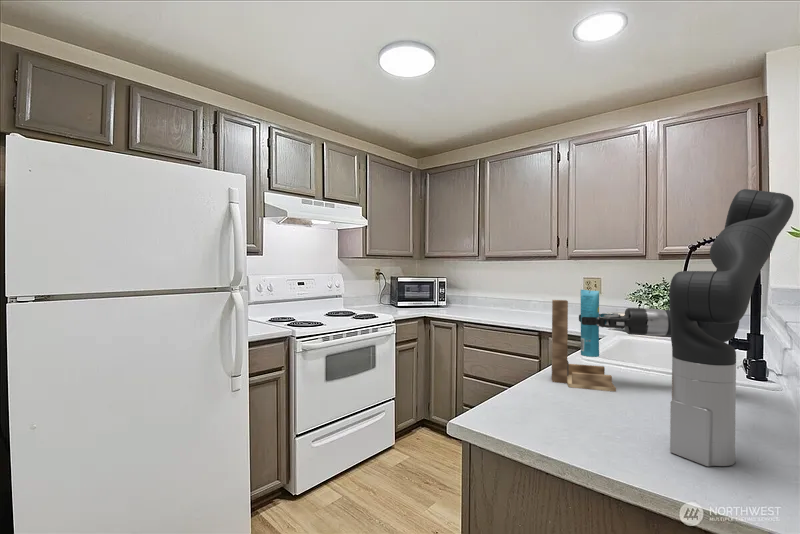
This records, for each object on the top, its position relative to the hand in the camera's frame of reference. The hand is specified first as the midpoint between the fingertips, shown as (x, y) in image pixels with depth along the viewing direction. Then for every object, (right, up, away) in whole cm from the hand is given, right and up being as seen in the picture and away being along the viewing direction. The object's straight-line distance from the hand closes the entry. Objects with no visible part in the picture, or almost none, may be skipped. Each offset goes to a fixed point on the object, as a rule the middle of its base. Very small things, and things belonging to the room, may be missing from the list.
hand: (580, 319), depth 117 cm
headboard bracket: (0, -19, 0) cm, 19 cm away
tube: (+2, -11, -1) cm, 11 cm away
